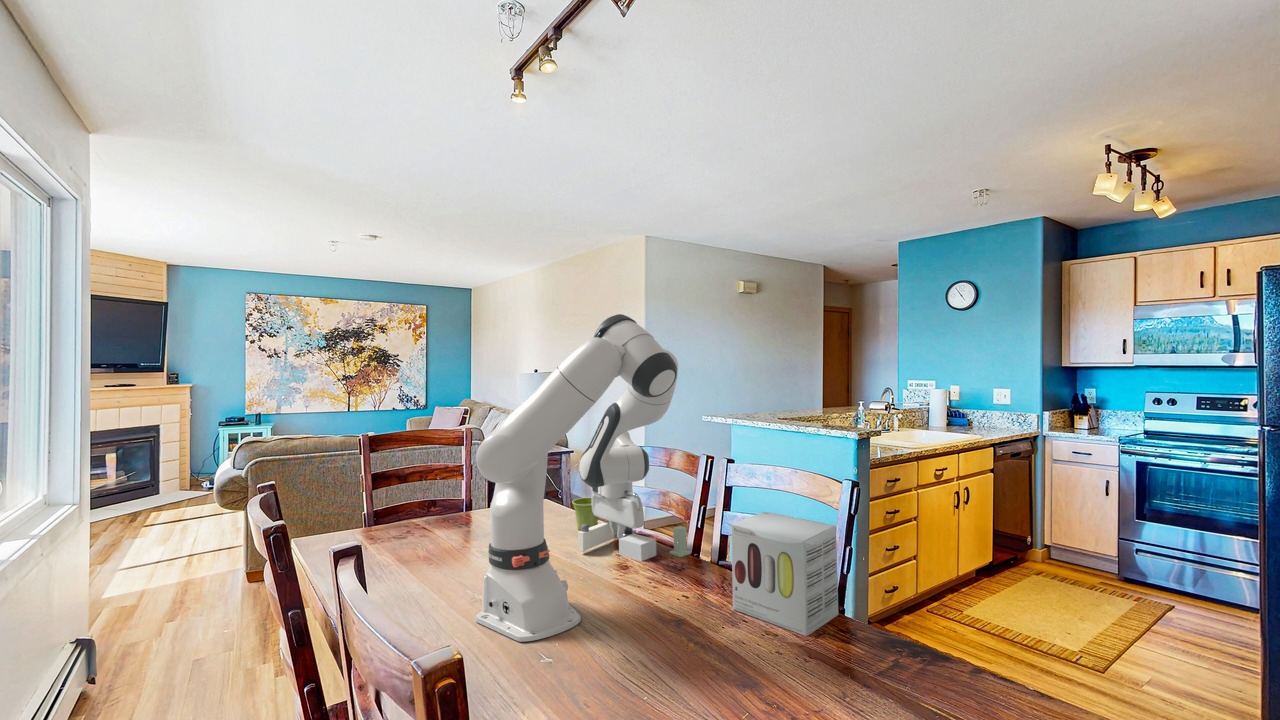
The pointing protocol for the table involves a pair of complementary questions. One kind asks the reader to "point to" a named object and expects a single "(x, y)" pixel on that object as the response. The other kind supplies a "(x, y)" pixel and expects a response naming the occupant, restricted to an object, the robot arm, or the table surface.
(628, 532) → the hinge post
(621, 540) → the light grey block
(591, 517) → the plant pot
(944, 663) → the table surface
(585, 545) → the gate
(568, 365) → the robot arm
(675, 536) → the post
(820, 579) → the supplement box
